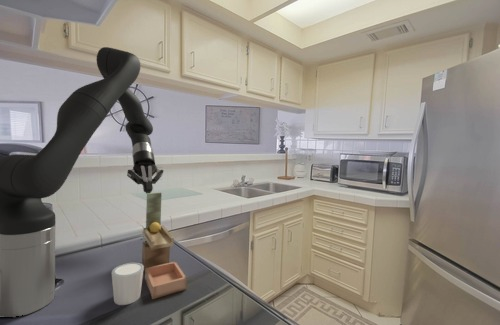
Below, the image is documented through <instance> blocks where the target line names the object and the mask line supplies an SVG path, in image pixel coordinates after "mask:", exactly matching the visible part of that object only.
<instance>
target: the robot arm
mask: <svg viewBox="0 0 500 325" xmlns="http://www.w3.org/2000/svg"><path fill="white" fill-rule="evenodd" d="M96 65H97V68H98V71H99V73H100V75H101V77H102V79H100V80H97V81H94V82H91V83H88V84H85V85H83V86H81V87H79V88H77V89H75V90H74V91H73V92H72V93H71V94H70V95H69V96H68V97H67V98H66V99H65V100H64V102H63V103H62V104H61V105H60V106H59V109H58V111H57V117H56V130H55V133H54V134H53V136H52V138H51V139H50V140H49V141H48V142H47V144H46V145H45V146H44V147H43V148H42V149H41V150H40V151H39V152H38V153H36V154H34V155H33V154H9V155H5V156H3V157H1V158H0V316H4V317H13V318H17V317H16V316H19V317H23V316H26V315H29V314H31V313H32V314H33V313H35V312H36V311H38V310H41V309H43V308H45V307H46V306H48V305H49V304H51V302H53V300H54V298H55V291H56V290H55V289H56V285H55V284H56V282H55V281H56V214H55V211H53V210H51V209H50V208H48V207H47V206H46V205H45V204H44V203H43V201H42V199H44V198H49V197H51V196H52V195H54V194H55V193H57V192H58V191H59V190H60V189H61V188H62V186H63V185H64V184H65V182H66V181H67V179H68V177H69V175H70V174H71V171H72V170H73V168H74V166H75V164H76V162H77V160H78V159H79V156H80V155H81V153H82V151H83V150H84V149H85V147H86V145H87V143H88V142H89V141H90V140H91V138H92V137H93V135H94V134H95V132H96V131H97V130H98V128H99V127H100V126H101V124H103V122H104V120H106V117H107V116H108V115H109V113H110V111H111V110H112V108H114V106H115V105H116V103H117V102H118V103H119V104H120V106H121V109H122V112H123V114H124V117H125V119H126V121H127V123H126V124H125V132H126V133H127V135H128V137H129V138H130V141H131V145H132V151H131V153H132V162H133V167H132V169H127V173H126V176H127V177H128V178H129V179H131V180H132V181H133V182H134V183H135V184H137V185H142V189H143V192H144V193H145V194H147V193H153V190H154V187H153V184H154V185H156V183H158V181H159V180H160V179H161V177H163V174H164V170H163V169H159V168H158V166H156V165H157V164H156V161H155V154H154V150H153V148H152V142H151V138H150V137H149V136H151V135H152V133H153V130H154V126H153V125H152V122H151V121H150V120H149V119H148V118H147V116H146V114H145V112H144V109H143V106H142V102H141V101H140V100H139V98H138V97H137V96H136V94H135V93H134V92H133V91H132V90H131V89H130V87H131V86H132V85H133V84H134V82H135V81H136V80H137V79H138V78H139V75H140V72H141V60H140V59H139V57H138V56H137V55H135V54H134V53H131V52H128V51H125V50H121V49H117V48H113V47H107V46H106V47H101V48H100V49H99V50H98V52H97V54H96ZM153 176H154V177H153ZM22 315H23V316H22Z"/></svg>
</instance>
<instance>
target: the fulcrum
mask: <svg viewBox="0 0 500 325" xmlns="http://www.w3.org/2000/svg"><path fill="white" fill-rule="evenodd" d="M170 247H171V246H169V247H163V248H158V249H153V250H151V248H150V247H149V245H148V243H147V241H146V240H144V241H143V242H142V249H141V250H142V256H141V257H142V258H141V259H142V260H141V264H142V265H143V266H144V270H143V272H145V268H148V267H153V266H157V265H162V264H166V263H170V254H171V253H170V249H171V248H170Z"/></svg>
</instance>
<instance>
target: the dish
mask: <svg viewBox="0 0 500 325" xmlns="http://www.w3.org/2000/svg"><path fill="white" fill-rule="evenodd" d="M187 279H188V278H187V276H186V274H184V272H183V270H182V269H181V268H180V266H179V264H178V263H177V261H171V262H169V263H166V264H162V265H157V266H153V267H148V268H145V271H144V280H145V283H146V286H147V289H148V291H149V294H150V296H151V300H155V299H157V298H161V297H165V296H168V295H169V296H170V295H172V294H175V293H178V292H181V291H185V290H187V281H188V280H187Z"/></svg>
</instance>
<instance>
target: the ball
mask: <svg viewBox="0 0 500 325" xmlns="http://www.w3.org/2000/svg"><path fill="white" fill-rule="evenodd" d="M160 227H161V226H160V224H159V223H157V222H154V223H152V224H151V225H150V231H151V232H153V233H156V232H158V231H159V230H160Z"/></svg>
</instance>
